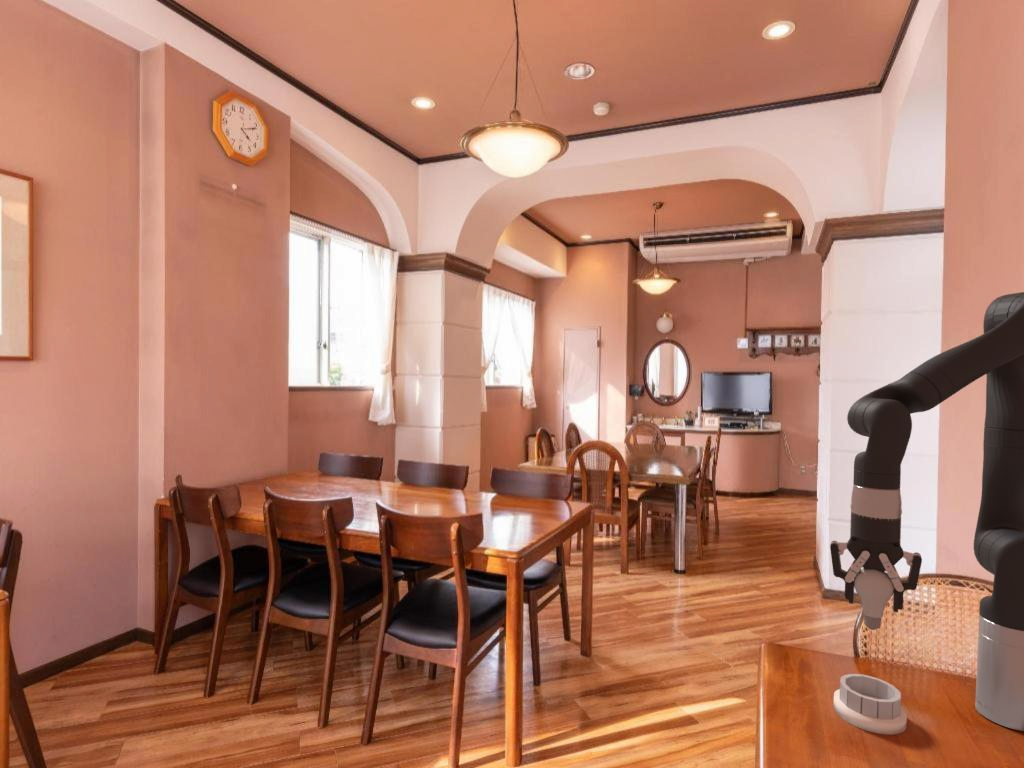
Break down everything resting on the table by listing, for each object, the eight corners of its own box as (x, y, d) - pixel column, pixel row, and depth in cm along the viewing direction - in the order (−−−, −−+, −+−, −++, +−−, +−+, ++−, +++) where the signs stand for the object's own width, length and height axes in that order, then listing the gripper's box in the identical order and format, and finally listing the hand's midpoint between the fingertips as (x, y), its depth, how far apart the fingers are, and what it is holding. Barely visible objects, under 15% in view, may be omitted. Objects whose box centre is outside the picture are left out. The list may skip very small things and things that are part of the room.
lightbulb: (899, 639, 100) (901, 575, 100) (859, 635, 101) (861, 571, 101) (884, 624, 106) (886, 563, 106) (847, 620, 107) (848, 560, 107)
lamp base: (881, 698, 109) (882, 672, 109) (921, 735, 98) (922, 706, 98) (821, 696, 109) (822, 670, 109) (854, 733, 98) (855, 703, 98)
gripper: (924, 513, 102) (921, 608, 103) (830, 502, 110) (828, 591, 110) (927, 522, 96) (924, 623, 96) (827, 510, 104) (825, 604, 104)
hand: (872, 606), depth 103 cm, fingers closed on lightbulb, 6 cm apart
